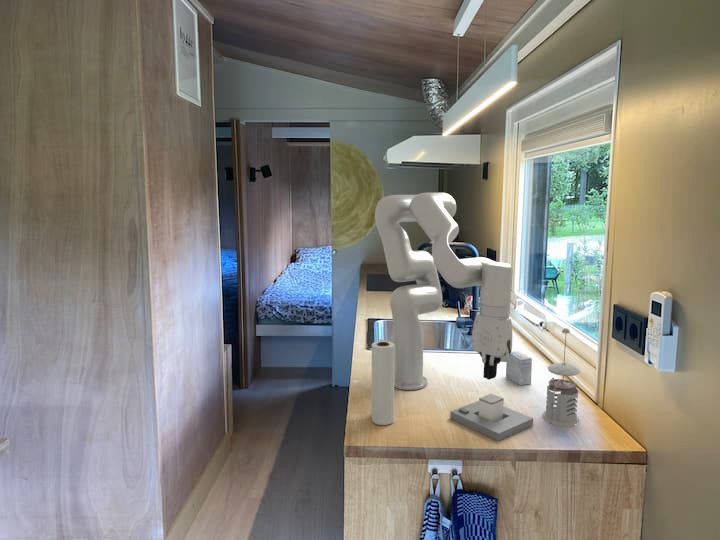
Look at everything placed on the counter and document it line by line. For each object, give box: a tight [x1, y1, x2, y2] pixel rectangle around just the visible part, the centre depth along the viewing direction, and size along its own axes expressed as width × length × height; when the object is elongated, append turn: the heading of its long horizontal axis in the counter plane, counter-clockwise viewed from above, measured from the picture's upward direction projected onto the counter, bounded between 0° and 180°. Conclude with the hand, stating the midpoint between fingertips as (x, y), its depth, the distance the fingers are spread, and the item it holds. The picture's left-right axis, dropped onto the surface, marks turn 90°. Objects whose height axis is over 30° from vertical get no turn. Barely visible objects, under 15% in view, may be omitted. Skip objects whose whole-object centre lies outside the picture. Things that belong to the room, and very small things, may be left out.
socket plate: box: [449, 400, 534, 442], centre depth 134 cm, size 16×14×3 cm
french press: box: [541, 327, 581, 427], centre depth 134 cm, size 10×12×25 cm
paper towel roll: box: [371, 338, 395, 426], centre depth 134 cm, size 7×6×21 cm
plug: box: [478, 393, 505, 423], centre depth 134 cm, size 4×5×6 cm
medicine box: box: [505, 350, 533, 386], centre depth 163 cm, size 8×4×9 cm, turn 16°
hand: (489, 377), depth 133 cm, fingers closed
